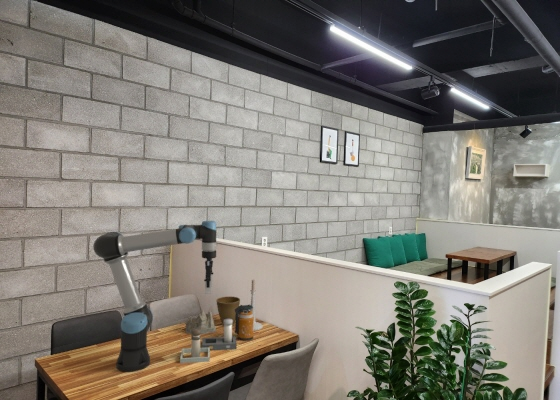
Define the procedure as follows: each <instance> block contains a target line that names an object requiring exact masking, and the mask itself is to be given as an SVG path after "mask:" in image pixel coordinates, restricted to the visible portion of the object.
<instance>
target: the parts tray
mask: <svg viewBox="0 0 560 400" xmlns="http://www.w3.org/2000/svg"><path fill="white" fill-rule="evenodd" d="M200 353H207V356H200V357H194V358H191V357H184V354H191V347H190V348H181V352H180V356H179V357H180V359H179V364H187V365H191V364H192V363H206V364H209V362H210V357H211V356H210V355H211V352H210V347H209V348H202V347H200ZM207 362H208V363H207ZM189 363H190V364H189Z"/></svg>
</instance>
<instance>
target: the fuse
mask: <svg viewBox="0 0 560 400" xmlns="http://www.w3.org/2000/svg"><path fill="white" fill-rule="evenodd" d="M232 324H233V320H232V319H224V326H223V337H224V342H232V337H233V326H232Z"/></svg>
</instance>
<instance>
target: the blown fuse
mask: <svg viewBox="0 0 560 400" xmlns="http://www.w3.org/2000/svg"><path fill="white" fill-rule="evenodd" d="M190 335H191V336H190V338H191V339H190V340H191V343H190V348H191V353H190V358H194V357H201V352H200V348H201V336H202V334H201V329H199V328H195V329H192V330H191V334H190Z"/></svg>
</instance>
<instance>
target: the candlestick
mask: <svg viewBox="0 0 560 400" xmlns="http://www.w3.org/2000/svg"><path fill="white" fill-rule="evenodd" d="M255 288H256V280H255V279H251V290H250V294H251V298H250V300H251V301H250V305H251V306H253V308H251V310H250V311H252V313H253V317H254V329H253V332H255V331H259V330H262V329H263V324H262V323H260V322H258V321H256V306H255V305H256V301H255V299H256V298H255V295H256V289H255Z"/></svg>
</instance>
